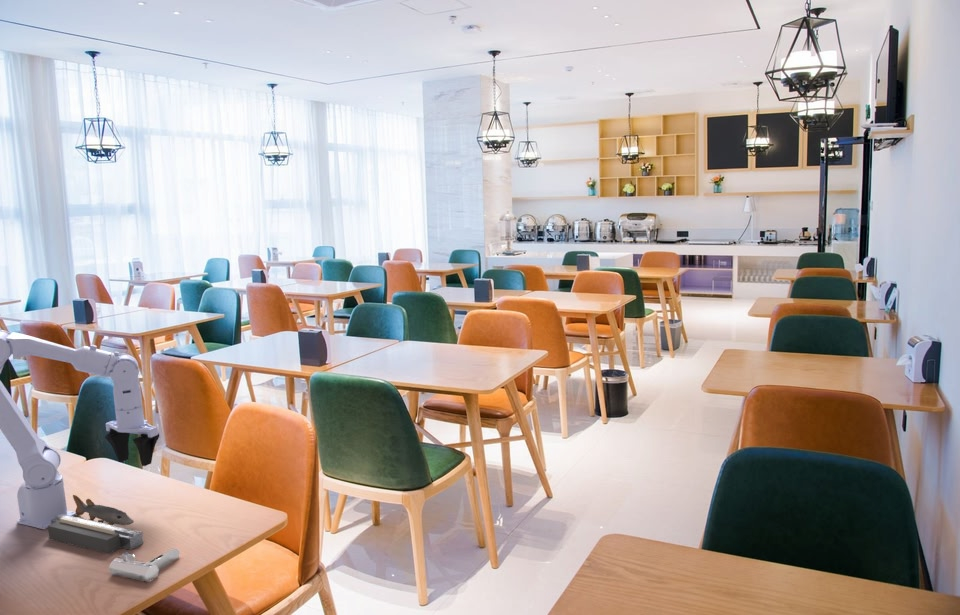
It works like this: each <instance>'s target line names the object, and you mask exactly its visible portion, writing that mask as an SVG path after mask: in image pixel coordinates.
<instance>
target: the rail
mask: <svg viewBox="0 0 960 615" xmlns="http://www.w3.org/2000/svg"><path fill="white" fill-rule="evenodd" d="M60 518H65V519H69V520H73V521H78V522H82V523H86V524H91V525H95V526H100V527H104V528H108V529H113V530H114V531H115V533H117V534H119V538H120V546H121V548H120V549H126V550H129V551H132V550H133V549H136V548H137V547H140V546H141V545H144V540H143V539H144V537H143V532H142V531H138V530H134V529H129V528H125V527H121V526H118V525H109V524H108V523H105V522H103V523H100V522H98V521H95V520H92V519H87V518H81V517H77V516H69V515H65V514H64V515H61V514H58V515H56V516H55V519H52V520H51V524H53V523H55V522H57V521H59V520H60Z"/></svg>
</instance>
